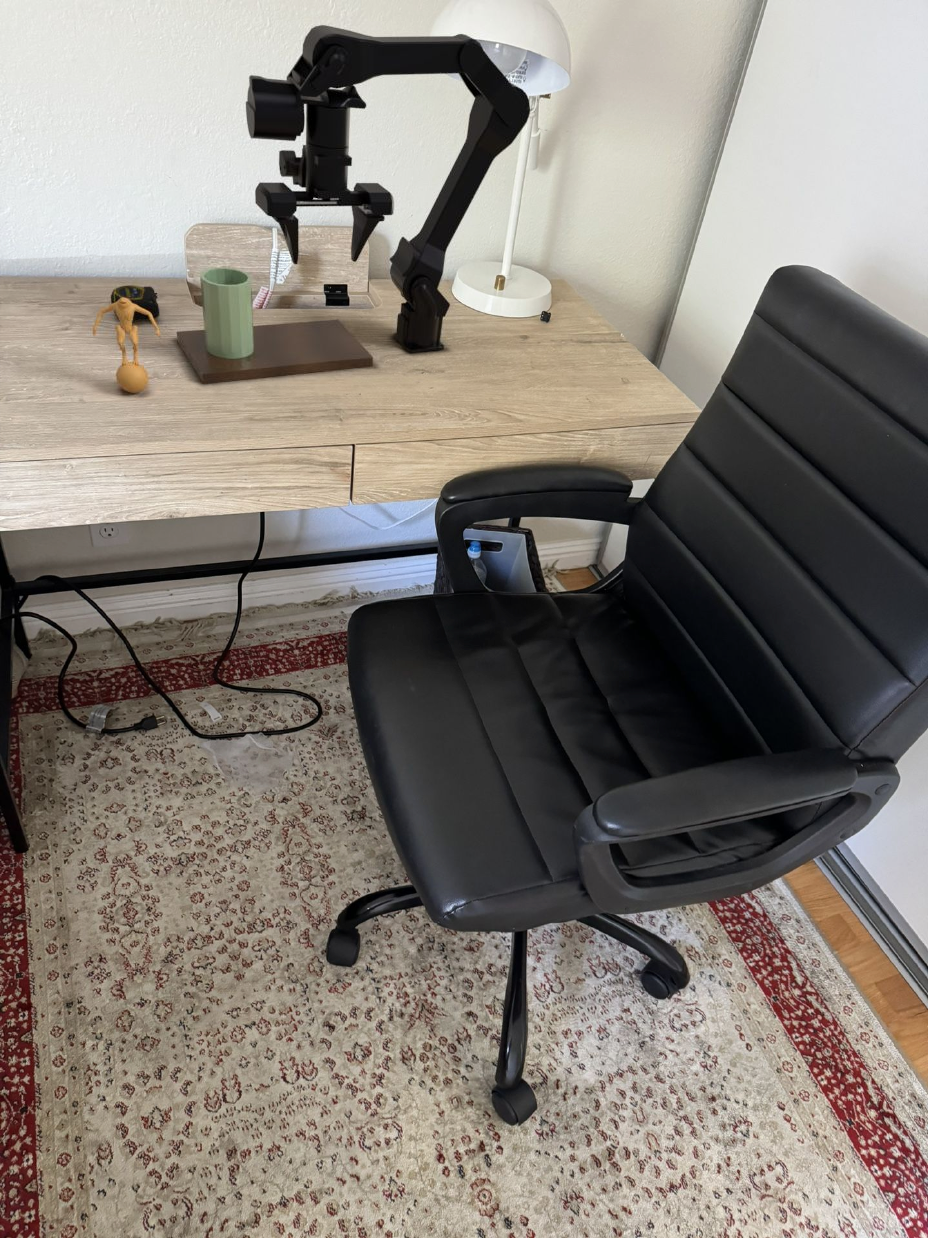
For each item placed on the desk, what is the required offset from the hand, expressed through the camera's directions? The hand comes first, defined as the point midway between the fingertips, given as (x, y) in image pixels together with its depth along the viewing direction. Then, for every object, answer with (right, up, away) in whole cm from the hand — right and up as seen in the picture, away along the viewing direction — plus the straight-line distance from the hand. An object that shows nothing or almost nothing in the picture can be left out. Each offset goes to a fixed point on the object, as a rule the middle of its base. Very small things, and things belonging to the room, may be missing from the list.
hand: (324, 261), depth 118 cm
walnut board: (-8, -12, +5) cm, 15 cm away
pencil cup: (-14, -13, 0) cm, 19 cm away
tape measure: (-30, -5, +8) cm, 32 cm away
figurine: (-25, -21, -9) cm, 34 cm away
